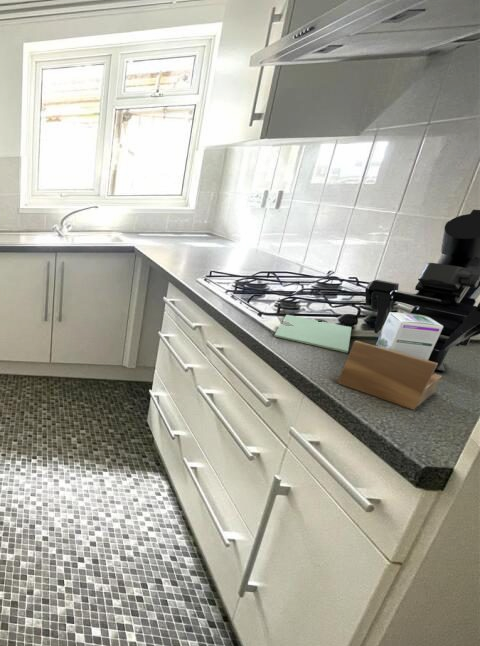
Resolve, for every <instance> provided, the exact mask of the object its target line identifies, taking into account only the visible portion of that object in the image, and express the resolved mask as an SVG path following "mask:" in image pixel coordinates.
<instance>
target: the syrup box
mask: <svg viewBox="0 0 480 646" xmlns="http://www.w3.org/2000/svg"><path fill="white" fill-rule="evenodd" d="M442 329H443V326H442V325H441V324H439V323H438V322H436V321H434V320H433V319H431V318H429V317H428V316H424V315H418V314H411V312H393V311H391V312H390V313H389V314H388V317H387V319H386V321H385V323H384V325H383V326H382V328H381V330H380V331H381V332H380V334H379V336H378V339H377V341H376V344H375V346H378V347H382V348H385V349H389V350H392V351H396V352H400V353H403V354H407V355H410V356H414V357H417V358H421V359H425V360H428V359H429V357H430V354H431V352H432V350H433V348H434V346H435V344H436V342H437V339H438V337H439V335H440V333H441V331H442Z"/></svg>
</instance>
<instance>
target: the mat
mask: <svg viewBox="0 0 480 646" xmlns="http://www.w3.org/2000/svg"><path fill="white" fill-rule="evenodd" d="M282 321H284V322H285V321H286V322H289V323H290V324H292V325H294V326H285V325H283V324H281V323H280V325H279V327H278V328H277V330H276V331H275V333H274V336H273V337H276V338H279V339H283V340H287V341H292V342H297V343H301V344H306V345H311V346H313V347H314V346H315V347H319V348H323V349H327V350H332V351H337V352H342V353H344V354H345V353H346V354H348V353H349V348H350V341H351V335H352V326H349V325H347V326H346V325H343V324H338V323H332V322H328V321H327V322H326V321H322V322H318V321H319V320H316V319H311V318H306V317H301V316H297V315H291V314H286V315H285V316H284V318H283V320H282Z"/></svg>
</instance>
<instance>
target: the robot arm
mask: <svg viewBox="0 0 480 646" xmlns="http://www.w3.org/2000/svg"><path fill="white" fill-rule="evenodd" d="M442 234H443V235H442V240H441V246H440V250H441V251H440V252H441V254H442V255H441V257H440V258H439V260H438V261H437V262H426V264H425V266H424V268H423V269H422V271H421V273H420V275H419V277H418V278H417V280H418V281H417V283H416V285H415V286H414V290H415V291H416V292H415V293H412V292H407V291H401V290H399V286H400V285H399V283H397V282H392V281H386V280H380V279H374V280H372V281H369V283H368V284H367V285H366V287H365V292H364V293H365V304H367V305H368V306H371V309H372V310H374V311H377V313H376V319H375V325H374V330H373V331H374V334H378V333H379V332H380V331H382V329H383V326H384V324H385V322H386V319H387V317H388V314H389V313H390V312H392V308H393V306H394V305H395V304H396V302H397V303H401V304H406V305H411V306H414V307H413V308H412V310H411V312H410V313H411V314H418V315H424V316H428V317H429V318H431V319H433V320H434V321H436V322H438V323H439V324H441V325H442V326H443V329H442V331H441V333H440V335H439V337H438V339H437V342H436V344H435V346H434V348H433V350H432V352H431V354H430V357H429V359H428V361H432V362H435V363H438V365H437V366H436V368H435V370H434V372H439V373H444V372H446V369H445V366H444V363H443V362H444V360H445V358H446V356H447V355H448V353H449V351H450V349H451V348H453V347H460V346H464V347H466V346H468V345H469V343H470V341H471V339H472V338H474V337H476V336H479V335H480V301H479V302H478V304H477V305H476V303H477V301H476V300H477V299H478V298H479V297H480V209H472V210H471V211H470V213H467V214H462V215H459V216H455V217H453V218H452V219H450V220H448V221H447V222H446V223H445V225H444V228H443V233H442Z"/></svg>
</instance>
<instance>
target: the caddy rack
mask: <svg viewBox="0 0 480 646" xmlns="http://www.w3.org/2000/svg"><path fill="white" fill-rule="evenodd" d="M437 365H438V363H435V362H432V361H428V360H425V359H421V358H417V357H414V356H410V355H407V354H403V353H400V352H396V351H392V350H389V349H385V348H382V347H378V346H376V345H374V344H371V343H367V342H363V341H360V340H355V341H354V342H353V344H352V347H351V349H350V351H349V355H348V356H347V359H346V361H345V364H344V367H343V369H342V371H341V373H340V375H339V377H338V378H339V379H338V381H337V384H339V385H342V386H344V387H347V388H350V389H353V390H355V391H359V392H361V393H365V394H367V395H370V396H372V397H376V398H378V399H381V400H384V401H386V402H390V403H393V404H395V405H398V406H401V407H404V408H407V409H409V410H411V411H412V410H413V411H414V410H415V409H416V408H417V407H419V406H420V405H421V404H423V403H424V402H425V401H426V400H427V399H429V398H430V397H432V395H433V394H434V392H435V390H436V388H437V386H438V385H439V382H440V381H441V378H442V375H441V374H438V373H435V371H434V370H435V368H436V366H437Z"/></svg>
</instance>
